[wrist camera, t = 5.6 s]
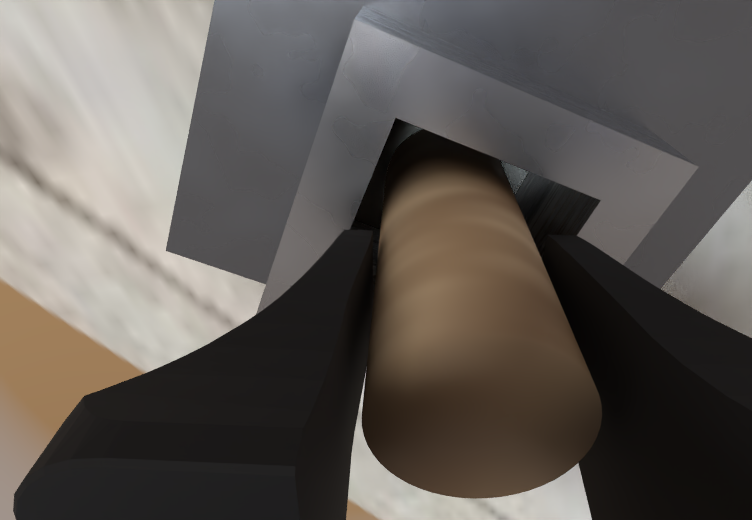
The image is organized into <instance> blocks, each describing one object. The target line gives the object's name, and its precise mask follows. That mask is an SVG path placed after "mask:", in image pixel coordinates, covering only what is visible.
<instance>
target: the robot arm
mask: <svg viewBox="0 0 752 520" xmlns="http://www.w3.org/2000/svg"><path fill="white" fill-rule="evenodd" d="M542 261H543V264H544V266H545V268H546V271H547V273H548V275H549V278H550V280H551V282H552V285H553V287H554V289H555V292H556V294H557V297H558V299H559V301H560V304H561V306H562V308H563V311H564V313H565V315H566V318H567V320H568V322H569V325H570V327H571V329H572V332H573V334H574V337H575V339H576V341H577V344H578V346H579V348H580V351H581V353H582V355H583V358H584V360H585V362H586V365H587V367H588V369H589V372H590V374H591V377H592V379H593V381H594V384H595V386H596V388H597V391H598V393H599V396H600V400H601V405H602V420H601V426H600V430H599V432H598V435H597V438H596V440H595V441H594V443H593V445H592V447H591V448H590V450H589V451H588V452H587V453H586V455H585V456H584V457H583V458H582V459H581V460H580V461H579V462H578V463H579V467H580V471H581V475H582V479H583V483H584V488H585V492H586V496H587V500H588V504H589V508H590V513H591V517H592V520H752V338H750V337H748V336H746V335H744V334H742V333H740V332H738V331H736V330H734V329H731V328H729V327H727V326H725V325H723V324H721V323H719V322H717V321H715V320H713V319H711V318H710V317H708V316H706V315H704V314H702V313H700V312H698V311H697V310H695V309H693V308H691V307H690V306H688V305H686V304H684V303H683V302H681V301H679V300H678V299H676V298H674V297H672V296H671V295H669V294H667V293H666V292H664V291H662V290H661V289H659V288H658V287H656V286H654V285H653V284H651V283H650V282H648V281H647V280H645V279H643V278H642V277H640V276H639V275H637V274H636V273H634V272H633V271H631V270H630V269H628V268H627V267H625V266H624V265H622V264H621V263H619V262H618V261H616V260H615V259H613V258H612V257H610V256H609V255H607V254H606V253H605V252H603V251H602V250H600V249H598V248H597V247H595V246H594V245H592V244H591V243H589V242H587V241H586V240H584V239H582V238H580V237H578V236H576V235H547V238H546V243H545V248H544V252H543V257H542ZM372 309H373V230H344V231H343V232H342V233H340V234H339V236H338V237H337V238H336V239H335V241H334V242H333V243H332V244H331V245H330V247H329V248H328V249H327V250H326V251H325V252H324V254H323V255H322V256H321V257H320V258H319V259H318V260H317V261H316V262H315V263H314V264H313V265H312V266H311V268H310V269H309V270H308V271H307V272H306V273H305V274H304V275H303V276H302V277H301V278H300V279H299V280H298V281H297V282H295V283H294V284H293V285H292V286H291V287H290V288H289V289H288V290H287V291H286V292H284V293H283V294H282V295H281V296H280V297H279V298H278V299H276V300H275V301H274V302H273V303H272V304H270V305H269V306H268V307H266V308H265V309H263V310H262V311H261V312H259V313H258V314H256V315H255V316H254V317H252V318H251V319H249V320H248V321H246V322H245V323H243V324H241V325H240V326H238V327H236V328H235V329H233V330H231V331H230V332H228V333H226V334H224V335H223V336H221V337H219V338H218V339H216V340H214V341H213V342H211V343H209V344H207V345H205V346H204V347H202V348H200V349H198V350H196V351H194V352H192V353H190V354H188V355H186V356H184V357H181V358H179V359H177V360H175V361H173V362H170V363H168V364H166V365H164V366H162V367H159V368H157V369H155V370H152V371H150V372H148V373H145V374H142V375H140V376H137V377H135V378H132V379H129V380H127V381H124V382H121V383H119V384H116V385H113V386H111V387H108V388H105V389H103V390H100V391H97V392H94V393H91V394H89V395H86V396H84V397H83V398H82V400H81V401H80V402H79V403H78V405H77V406H76V407H75V408H74V410H73V411H72V412H71V414H70V415H69V416H68V417H67V419H66V420H65V421H64V423H63V424H62V426H61V427H60V428H59V430H58V431H57V432H56V434H55V435H54V437H53V438H52V440H51V441H50V443H49V444H48V445H47V447H46V448H45V450H44V451H43V453H42V454H41V455H40V457H39V458H38V460H37V461H36V463H35V464H34V465H33V467H32V468H31V470H30V471H29V473H28V474H27V475H26V477H25V478H24V480H23V482H22V483H21V485H20V486H19V487H18V489H17V491H16V492H15V494H14V508H13V511H14V515H15V517H16V520H346V511H347V500H348V488H349V476H350V465H351V453H352V445H353V438H354V431H355V426H356V420H357V415H358V410H359V404H360V399H361V394H362V389H363V383H364V378H365V373H366V367H367V359H368V349H369V339H370V329H371V319H372Z"/></svg>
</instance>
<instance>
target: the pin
mask: <svg viewBox="0 0 752 520" xmlns="http://www.w3.org/2000/svg"><path fill="white" fill-rule="evenodd" d="M601 420H602V405H601V400H600V396H599V393H598V391H597V388H596V386H595V384H594V381H593V379H592V377H591V374H590V372H589V369H588V367H587V365H586V362H585V360H584V358H583V355H582V353H581V351H580V348H579V346H578V344H577V341H576V339H575V337H574V334H573V332H572V329H571V327H570V325H569V322H568V320H567V318H566V315H565V313H564V311H563V308H562V306H561V304H560V301H559V299H558V297H557V294H556V292H555V289H554V287H553V285H552V282H551V280H550V278H549V275H548V273H547V271H546V268H545V266H544V264H543V261H542V259H541V256H540V254H539V252H538V249H537V247H536V245H535V242H534V240H533V238H532V235H531V233H530V231H529V228H528V226H527V224H526V221H525V219H524V216H523V214H522V212H521V209H520V207H519V205H518V202H517V200H516V198H515V195H514V193H513V191H512V188H511V186H510V183H509V181H508V179H507V176H506V174H505V172H504V169H503V167H502V165H501V162H500V160H499V159H497V158H495V157H492V156H490V155H487V154H485V153H482V152H480V151H477V150H475V149H472V148H470V147H467V146H465V145H462V144H460V143H457V142H455V141H452V140H450V139H447V138H445V137H442V136H440V135H437V134H435V133H432V132H430V131H428V130H425V129H423V130H420V131H418V132H416V133H415V134H413V135H411V136H410V137H409V138H407V139H406V140H405V141H404V142H403V143H402V144H401V145H400V146H399V147H398V148H397V149H396V151H395V152H394V154H393V156H392V157H391V160H390V162H389V165H388V168H387V172H386V179H385V189H384V199H383V209H382V219H381V229H380V239H379V249H378V259H377V269H376V279H375V289H374V299H373V309H372V319H371V329H370V339H369V349H368V359H367V369H366V379H365V389H364V399H363V409H362V428H363V433H364V437H365V440H366V442H367V445H368V447H369V448H370V450H371V452H372V453H373V455H374V456H375V457H376V459H377V460H378V461H379V462H380V463H381V464H382V465H383V466H384V467H385V468H386V469H387V470H388V471H390V472H391V473H392V474H394V475H395V476H397V477H398V478H400V479H402V480H403V481H405V482H407V483H409V484H411V485H413V486H416V487H418V488H420V489H423V490H426V491H429V492H433V493H437V494H441V495H446V496H452V497H459V498H493V497H502V496H508V495H513V494H518V493H521V492H525V491H529V490H531V489H534V488H537V487H540V486H542V485H544V484H546V483H549V482H551V481H553V480H555V479H556V478H558V477H560V476H561V475H563V474H565V473H566V472H567V471H569V470H570V469H571V468H572V467H574V466H575V465H576V464H577V463H578V462H579V461H580V460H581V459H582V458H583V457H584V456H585V455H586V453H587V452H588V451H589V450H590V448H591V447H592V445H593V443H594V441H595V440H596V438H597V435H598V432H599V430H600V426H601Z"/></svg>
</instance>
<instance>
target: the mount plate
mask: <svg viewBox="0 0 752 520" xmlns="http://www.w3.org/2000/svg"><path fill="white" fill-rule="evenodd" d="M395 118H398V119H400V120H403V121H405V122H408V123H410V124H413V125H415V126H418V127H420V128H423V129H425V130H428V131H430V132H432V133H435V134H437V135H440V136H442V137H445V138H447V139H450V140H452V141H455V142H457V143H460V144H462V145H465V146H467V147H470V148H472V149H475V150H477V151H480V152H482V153H485V154H487V155H490V156H492V157H495V158H497V159H500V160H502V161H505V162H507V163H509V164H512V165H514V166H517V167H519V168H522V169H524V170H527V171H529V173H528V175H527V176H526V178H525V180H524V181H523V183H522V185H521V187H520V188H519V190H518V192H517V193H516V195H515V198H516V200H517V202H518V205H519V207H520V209H521V212H522V214H523V216H524V219H525V221H526V224H527V226H528V228H529V231H530V233H531V235H532V238H533V240H534V242H535V245H536V247H537V249H538V252H539V254H540V256H541V259H542V257H543V252H544V248H545V243H546V238H547V235H576V236H578V237H580V238H582V239H584V240H586V241H587V242H589V243H591V244H592V245H594V246H595V247H597V248H598V249H600V250H602V251H603V252H605V253H606V254H607V255H609V256H610V257H612V258H613V259H615V260H616V261H618V262H619V263H621V264H622V265H624V266H625V267H627V268H628V269H630V270H631V271H633V272H634V273H636V274H637V275H639V276H640V277H642V278H643V279H645V280H647V281H648V282H650V283H651V284H653V285H654V286H656V287H658V288H659V289H661V287H662V286H663V285H664V284H665V283H666V281H667V280H668V279H669V278H670V277H671V275H672V274H673V273H674V272H675V271H676V270H677V268H678V267H679V266H680V265H681V264H682V262H683V261H684V260H685V259H686V258H687V256H688V255H689V254H690V253H691V252H692V250H693V249H694V248H695V247H696V246H697V245H698V243H699V242H700V241H701V240H702V239H703V237H704V236H705V235H706V234H707V233H708V231H709V230H710V229H711V228H712V227H713V226H714V224H715V223H716V222H717V221H718V220H719V218H720V217H721V216H722V215H723V214H724V212H725V211H726V210H727V209H728V208H729V207H730V205H731V204H732V203H733V202H734V201H735V199H736V198H737V197H738V196H739V195H740V193H741V192H742V191H743V190H744V189H745V188H746V186H747V185H748V184H749V183H750V182H751V180H752V0H215V1H214V6H213V12H212V17H211V22H210V27H209V32H208V37H207V42H206V47H205V53H204V58H203V63H202V68H201V73H200V78H199V83H198V88H197V93H196V99H195V104H194V109H193V114H192V119H191V124H190V129H189V134H188V140H187V145H186V150H185V155H184V160H183V165H182V170H181V175H180V181H179V186H178V191H177V196H176V201H175V206H174V211H173V216H172V222H171V227H170V232H169V237H168V242H167V247H166V251H168V252H171V253H174V254H177V255H180V256H183V257H186V258H189V259H192V260H195V261H198V262H201V263H204V264H207V265H210V266H213V267H216V268H219V269H222V270H225V271H228V272H231V273H234V274H237V275H240V276H243V277H246V278H249V279H252V280H255V281H258V282H261V283H264V284H266V286H265V289H264V292H263V295H262V298H261V302H260V305H259V308H258V311H257V314H258V313H259V312H261V311H262V310H263V309H265V308H266V307H268V306H269V305H270V304H272V303H273V302H274V301H275V300H276V299H278V298H279V297H280V296H281V295H282V294H283V293H284V292H286V291H287V290H288V289H289V288H290V287H291V286H292V285H293V284H294V283H295V282H297V281H298V280H299V279H300V278H301V277H302V276H303V275H304V274H305V273H306V272H307V271H308V270H309V269H310V268H311V266H312V265H313V264H314V263H315V262H316V261H317V260H318V259H319V258H320V257H321V256H322V255H323V254H324V252H325V251H326V250H327V249H328V248H329V247H330V245H331V244H332V243H333V242H334V241H335V239H336V238H337V237H338V236H339V234H340V233H342V232H343V231H344V230H373V299H374V289H375V279H376V269H377V259H378V249H379V239H380V229H378V228H375V227H372V226H370V225H367V224H364V223H361V222H359V221H356V220H354V218H355V216H356V213H357V211H358V208H359V206H360V203H361V201H362V199H363V196H364V194H365V191H366V189H367V186H368V184H369V182H370V179H371V177H372V174H373V172H374V169H375V167H376V164H377V162H378V160H379V157H380V155H381V152H382V150H383V147H384V145H385V143H386V140H387V138H388V135H389V133H390V130H391V128H392V125H393V123H394V121H395Z"/></svg>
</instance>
